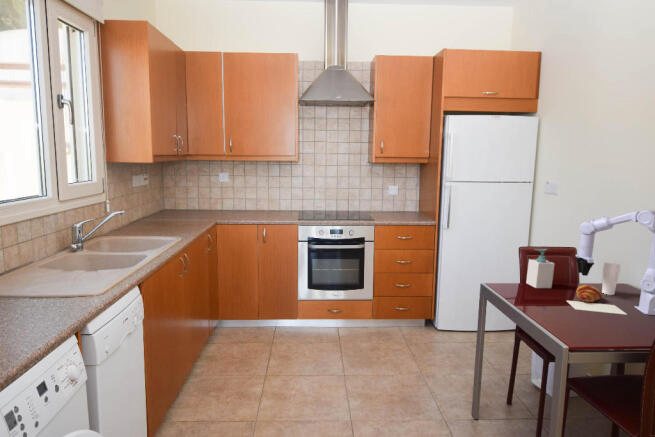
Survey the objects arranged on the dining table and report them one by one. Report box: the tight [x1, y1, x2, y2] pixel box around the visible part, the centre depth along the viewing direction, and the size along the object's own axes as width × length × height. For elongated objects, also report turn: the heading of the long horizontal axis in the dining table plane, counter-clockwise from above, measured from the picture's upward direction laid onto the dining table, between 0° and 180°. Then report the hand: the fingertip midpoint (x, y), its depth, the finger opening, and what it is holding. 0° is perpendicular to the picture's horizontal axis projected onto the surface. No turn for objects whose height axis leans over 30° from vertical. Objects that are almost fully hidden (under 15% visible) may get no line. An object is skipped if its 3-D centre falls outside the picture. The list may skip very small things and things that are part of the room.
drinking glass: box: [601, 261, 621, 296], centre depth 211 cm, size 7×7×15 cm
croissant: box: [575, 284, 603, 303], centre depth 202 cm, size 21×10×8 cm, turn 141°
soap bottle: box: [525, 248, 555, 289], centre depth 220 cm, size 9×9×19 cm
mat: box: [565, 300, 628, 316], centre depth 191 cm, size 12×20×1 cm, turn 79°
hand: (582, 274), depth 211 cm, fingers open, 4 cm apart
